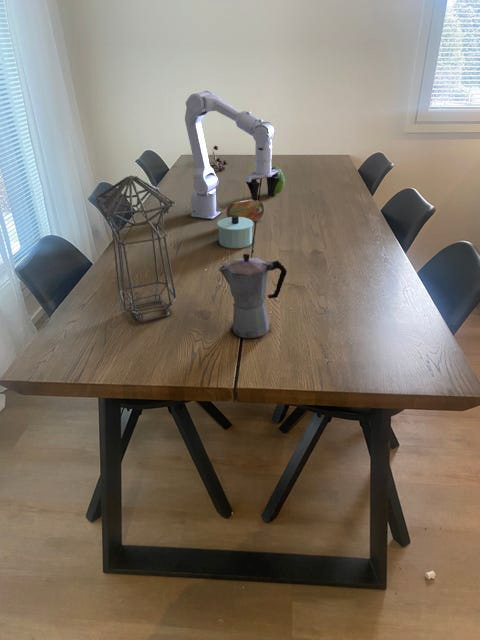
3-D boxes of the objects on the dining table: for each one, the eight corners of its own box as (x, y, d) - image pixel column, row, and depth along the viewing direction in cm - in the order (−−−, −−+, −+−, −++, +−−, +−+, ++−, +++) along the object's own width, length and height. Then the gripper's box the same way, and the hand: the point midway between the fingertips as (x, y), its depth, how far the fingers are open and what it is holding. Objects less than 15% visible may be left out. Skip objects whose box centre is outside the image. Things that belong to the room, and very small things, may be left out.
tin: (229, 227, 170) (228, 205, 165) (225, 224, 172) (225, 202, 168) (264, 220, 176) (264, 198, 171) (260, 217, 178) (260, 196, 174)
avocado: (264, 195, 202) (264, 167, 195) (269, 190, 208) (270, 163, 201) (281, 197, 199) (282, 169, 193) (286, 192, 205) (287, 164, 199)
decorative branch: (223, 161, 229) (209, 137, 250) (214, 176, 233) (200, 152, 254) (240, 170, 236) (225, 147, 256) (231, 185, 240) (217, 160, 260)
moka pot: (220, 320, 115) (217, 246, 104) (280, 316, 116) (283, 244, 105) (221, 341, 107) (219, 264, 96) (286, 338, 108) (290, 261, 97)
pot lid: (211, 229, 152) (211, 220, 150) (226, 217, 161) (225, 208, 160) (245, 234, 148) (245, 225, 146) (258, 222, 158) (258, 213, 156)
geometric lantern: (126, 333, 110) (101, 190, 92) (114, 303, 123) (89, 171, 104) (187, 319, 116) (176, 180, 97) (170, 291, 128) (157, 164, 109)
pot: (213, 245, 155) (213, 227, 152) (227, 233, 164) (226, 216, 161) (244, 250, 152) (244, 232, 148) (256, 238, 160) (256, 220, 157)
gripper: (254, 165, 154) (254, 204, 161) (286, 158, 161) (284, 196, 169) (241, 161, 159) (242, 199, 166) (273, 155, 166) (272, 192, 173)
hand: (262, 198), depth 168 cm, fingers open, 7 cm apart
